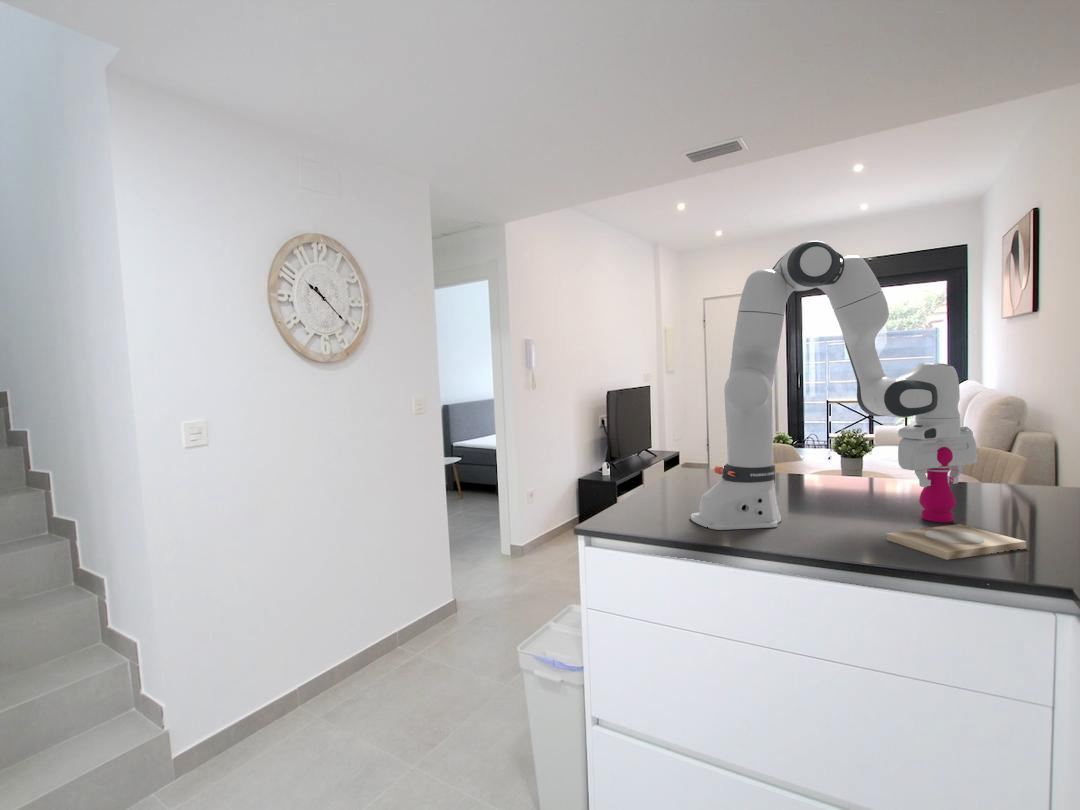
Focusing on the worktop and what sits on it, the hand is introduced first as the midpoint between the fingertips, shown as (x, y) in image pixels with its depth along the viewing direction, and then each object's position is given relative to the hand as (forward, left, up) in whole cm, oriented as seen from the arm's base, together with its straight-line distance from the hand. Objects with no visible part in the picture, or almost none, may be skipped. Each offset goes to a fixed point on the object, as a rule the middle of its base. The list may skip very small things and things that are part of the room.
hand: (938, 485), depth 134 cm
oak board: (-14, -16, -9) cm, 23 cm away
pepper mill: (0, 0, -9) cm, 9 cm away
